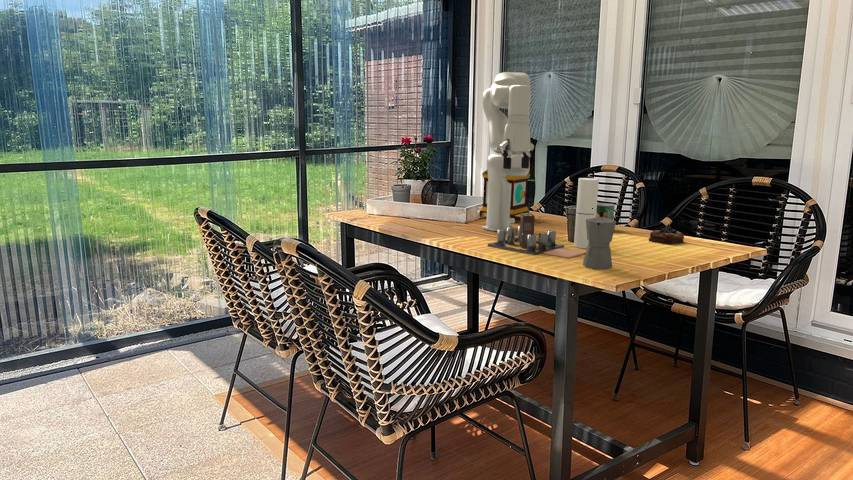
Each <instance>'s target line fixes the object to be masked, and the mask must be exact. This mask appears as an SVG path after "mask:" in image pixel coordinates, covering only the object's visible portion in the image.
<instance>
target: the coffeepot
mask: <svg viewBox="0 0 853 480" xmlns="http://www.w3.org/2000/svg"><path fill="white" fill-rule="evenodd" d="M603 215H604V212H603V211H599V217H595V218H590V219H586V229H587V240H588V241H589V242H588V246H587V249H586V248H585V249H586V250H585V252H586V253H585V254H584V258H583V261H582V265H583V266H585V267H584V268H587V269H590V268H592V270H598V269H599V270H601V271H603V270H605V269H606V270H610V269H612V268H613V262H612V260H613V259H612V250H611V244H610V243H611V242H612V240H613V237H614V232H615V229H616V224H617V221H616V220H614V219H613V220H612V219H608V218H606V217H605V216H603Z"/></svg>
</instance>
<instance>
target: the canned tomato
mask: <svg viewBox="0 0 853 480" xmlns="http://www.w3.org/2000/svg"><path fill="white" fill-rule="evenodd" d="M599 211H603V212H604V215H603V216H605V217H606V218H608V219H612V220H614V218H615V204H614V203H608V202H607V203H606V202H597V209H596V217H599Z"/></svg>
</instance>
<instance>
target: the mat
mask: <svg viewBox="0 0 853 480" xmlns="http://www.w3.org/2000/svg"><path fill="white" fill-rule="evenodd" d="M585 253H586V251H579V250H575V249H568V248H565V247H564V248H559V249H555V250H551V251H547V252H543V253H542V254H543V255H546V256H553V257H558V258H564V259H567V260H568V259H572V258H575V257H578V256H582V255H585Z"/></svg>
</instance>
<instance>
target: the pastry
mask: <svg viewBox="0 0 853 480" xmlns="http://www.w3.org/2000/svg"><path fill="white" fill-rule="evenodd" d="M684 239H685V235H684V233H683V232H680V231H677V229H674V228H672V227H671V226H668V227H666V228H665V227H662V228H661V229H660V230H659V229H658V230H657V229H656V230H652V231H651V232H650V234H649V238H648V242H651V243H656V244H662V245H669V246H672V245H673V246H674V245H677V244H682V243H684Z"/></svg>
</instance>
